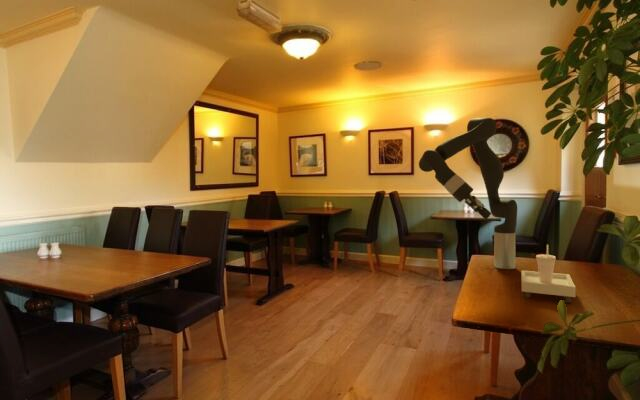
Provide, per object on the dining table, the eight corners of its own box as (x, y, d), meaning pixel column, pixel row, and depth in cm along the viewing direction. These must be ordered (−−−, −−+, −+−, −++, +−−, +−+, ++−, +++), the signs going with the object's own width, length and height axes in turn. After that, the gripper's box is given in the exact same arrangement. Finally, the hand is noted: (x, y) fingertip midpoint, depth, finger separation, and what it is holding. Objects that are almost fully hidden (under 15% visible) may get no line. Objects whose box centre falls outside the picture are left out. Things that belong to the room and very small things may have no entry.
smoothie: (558, 284, 134) (559, 246, 132) (539, 284, 135) (539, 246, 134) (551, 279, 140) (551, 243, 139) (532, 279, 141) (533, 242, 140)
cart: (521, 285, 149) (521, 270, 149) (568, 290, 142) (569, 274, 141) (521, 299, 133) (521, 281, 133) (575, 305, 126) (575, 287, 125)
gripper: (462, 181, 144) (495, 211, 139) (467, 181, 156) (497, 208, 152) (448, 195, 147) (479, 225, 142) (454, 193, 159) (483, 221, 154)
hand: (488, 216), depth 147 cm, fingers open, 8 cm apart
